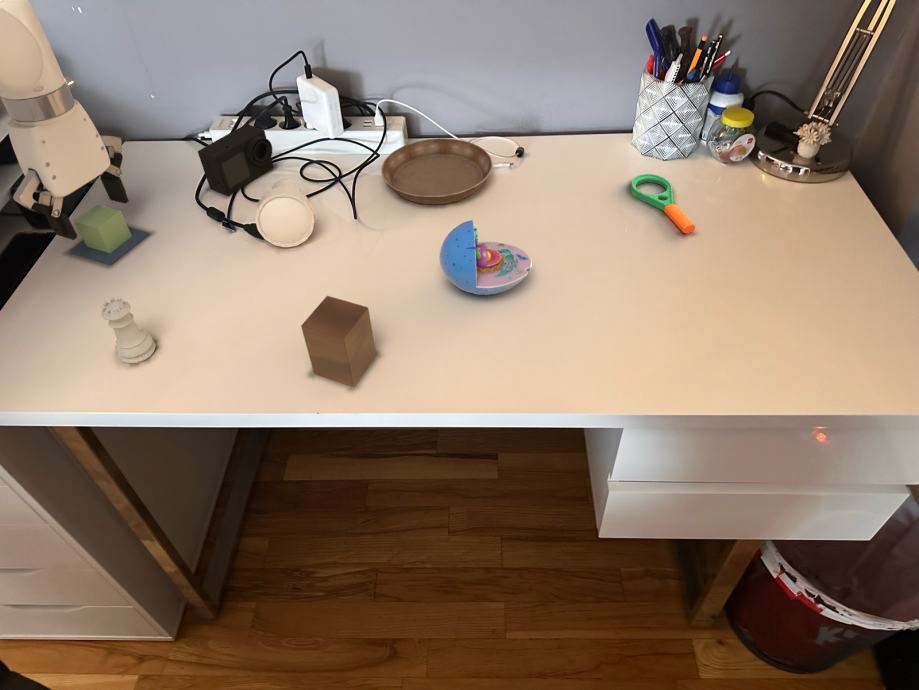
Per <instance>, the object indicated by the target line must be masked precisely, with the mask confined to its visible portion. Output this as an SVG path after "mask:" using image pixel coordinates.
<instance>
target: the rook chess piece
mask: <svg viewBox="0 0 919 690" xmlns="http://www.w3.org/2000/svg"><path fill="white" fill-rule="evenodd" d="M100 307H101V315H100V316H101V318H103V319H104V320H107V321H108V326H109V327H110V328H112V330H113V331H114V334H115V336H116V340H115V343H116V344H115V351H116V354H117V357H118V359H119V360H120V361H121V362H123V363H128V364H130V365H131V364H139V363H142V362H144V361H146V360H148V359H149V358H151V356H152V355H153V354H154V352H155V350H156V346H157V345H156V341H155V340H154V339H153V337H152V336H151V334H150V333H148V332H147V331H145V330H143V329H142V328H140V327H139V325H138V324H137V323H136V322H135V320H134V314H133V313H132V312H130V311H131V308H132V306H131V303H130V302H128V301H125V300H124V299H123V298H122V297H119V296H117V297H116V299H115V297H110V298H109V302H108V301H106V300H104V301H103V303H102V306H100Z"/></svg>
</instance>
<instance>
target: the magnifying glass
mask: <svg viewBox="0 0 919 690" xmlns="http://www.w3.org/2000/svg"><path fill="white" fill-rule="evenodd" d="M644 183H653V184H658V185H660V186H662V187H664V189H665V191H664V192H660V193H647V192H644V191H641V190H640V189H638V188H637V186H639V185H641V184H644ZM630 192H631V194H632V196H634V197H635V198H636V199H638V200H640V201H642V202H644V203H646V204H648V205H650V206H652V207H654V208H657V209H659V210H661V211H662V212H664V213H665V215H667V217H668V218H669V219H670V220H671V221H672V222H673V223H674V224H675V225H676V227H678V228H679V230H680V231H681V232H682V233H683V234H690V233H692V232H694V230H695V229H696V225H695V224H694V223H693V222H692V221H691V220H690V218H689V217H688V216H687V215H685V213H684V212H683V211H682V210H681V209H680V208H679V207H678V206H677V205H676V204H675V202H674V197H673V196H674V195H673V185H672V183H671V182H670V181H669V180H668V179H667V178H665V177H664V176H663V177H662V176H661V175H658V174H655V173H654V174H653V173H642V174H638V175H636V176H634V177H633V178H632V179H631V183H630Z"/></svg>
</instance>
